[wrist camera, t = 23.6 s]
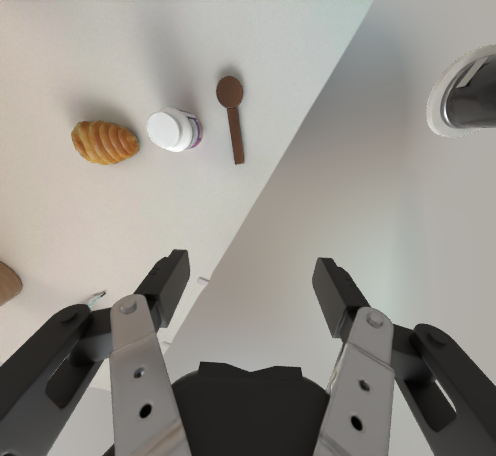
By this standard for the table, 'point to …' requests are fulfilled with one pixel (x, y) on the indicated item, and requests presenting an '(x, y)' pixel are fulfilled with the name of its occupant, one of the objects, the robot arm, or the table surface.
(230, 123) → the spoon
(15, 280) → the lamp
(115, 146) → the pastry
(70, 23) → the table surface
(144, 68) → the table surface
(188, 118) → the pill bottle
